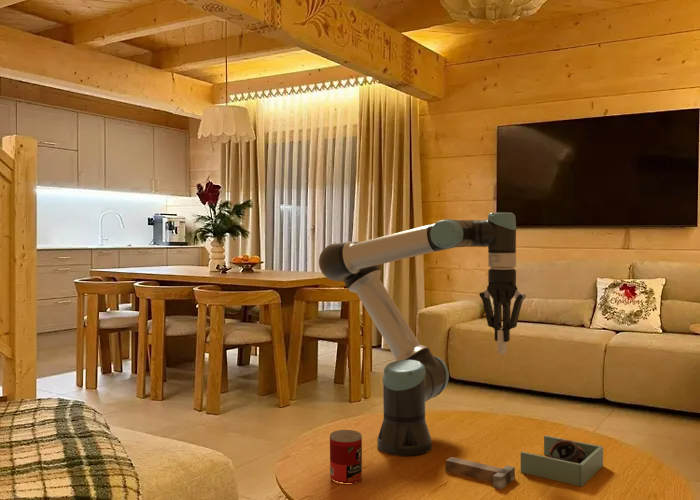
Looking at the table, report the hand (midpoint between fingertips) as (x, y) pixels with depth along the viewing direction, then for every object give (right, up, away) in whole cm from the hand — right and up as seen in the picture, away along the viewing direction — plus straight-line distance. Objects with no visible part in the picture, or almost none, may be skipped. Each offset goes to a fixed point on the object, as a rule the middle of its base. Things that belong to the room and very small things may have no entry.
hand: (502, 353), depth 180 cm
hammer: (-11, -27, -20) cm, 36 cm away
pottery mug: (+13, -27, -15) cm, 34 cm away
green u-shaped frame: (+11, -27, -16) cm, 33 cm away
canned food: (-43, -28, -21) cm, 56 cm away
